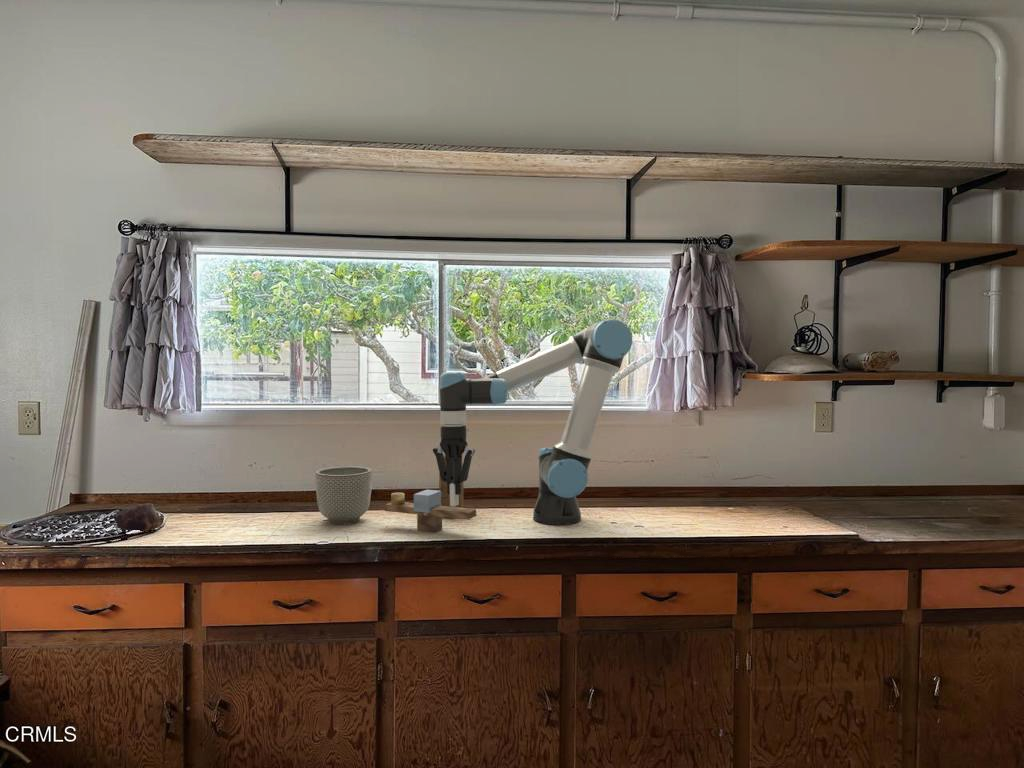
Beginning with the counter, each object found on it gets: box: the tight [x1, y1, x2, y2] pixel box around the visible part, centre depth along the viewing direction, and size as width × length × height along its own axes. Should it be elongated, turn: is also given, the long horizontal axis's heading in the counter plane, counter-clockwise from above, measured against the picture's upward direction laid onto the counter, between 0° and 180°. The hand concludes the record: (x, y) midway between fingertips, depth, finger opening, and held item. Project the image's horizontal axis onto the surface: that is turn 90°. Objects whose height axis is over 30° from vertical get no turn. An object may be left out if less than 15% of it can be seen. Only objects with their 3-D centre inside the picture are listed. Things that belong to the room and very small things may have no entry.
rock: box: [113, 502, 165, 533], centre depth 183 cm, size 12×9×10 cm
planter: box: [314, 465, 373, 526], centre depth 197 cm, size 17×17×16 cm
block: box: [438, 453, 465, 508], centre depth 207 cm, size 11×8×20 cm
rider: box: [413, 489, 441, 513], centre depth 187 cm, size 5×8×5 cm, turn 158°
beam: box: [384, 491, 477, 534], centre depth 187 cm, size 28×5×10 cm, turn 68°
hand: (454, 505), depth 184 cm, fingers closed
